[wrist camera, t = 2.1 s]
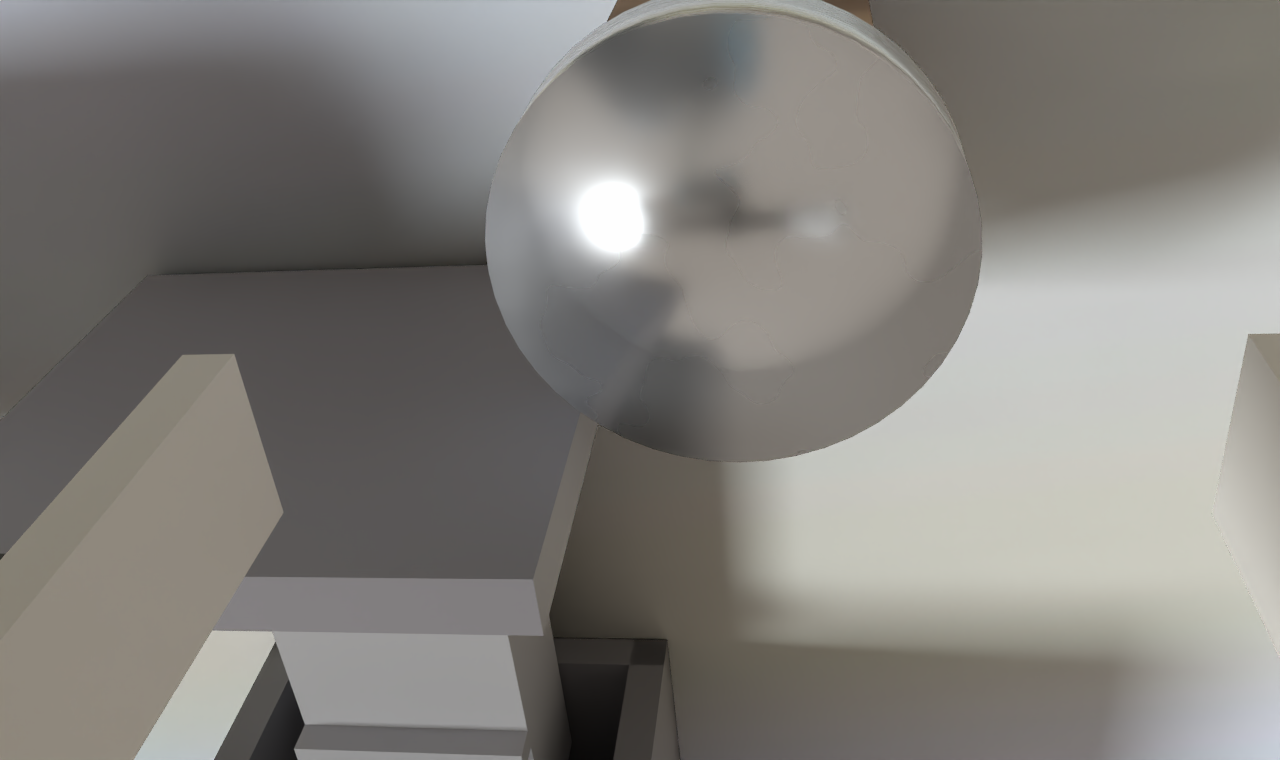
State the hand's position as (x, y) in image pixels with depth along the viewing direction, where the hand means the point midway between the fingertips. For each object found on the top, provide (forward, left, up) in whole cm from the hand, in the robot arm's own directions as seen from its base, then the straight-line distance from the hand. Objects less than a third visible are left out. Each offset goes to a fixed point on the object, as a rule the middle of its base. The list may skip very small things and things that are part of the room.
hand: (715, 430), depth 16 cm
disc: (0, 0, -6) cm, 6 cm away
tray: (+11, -9, -11) cm, 18 cm away
